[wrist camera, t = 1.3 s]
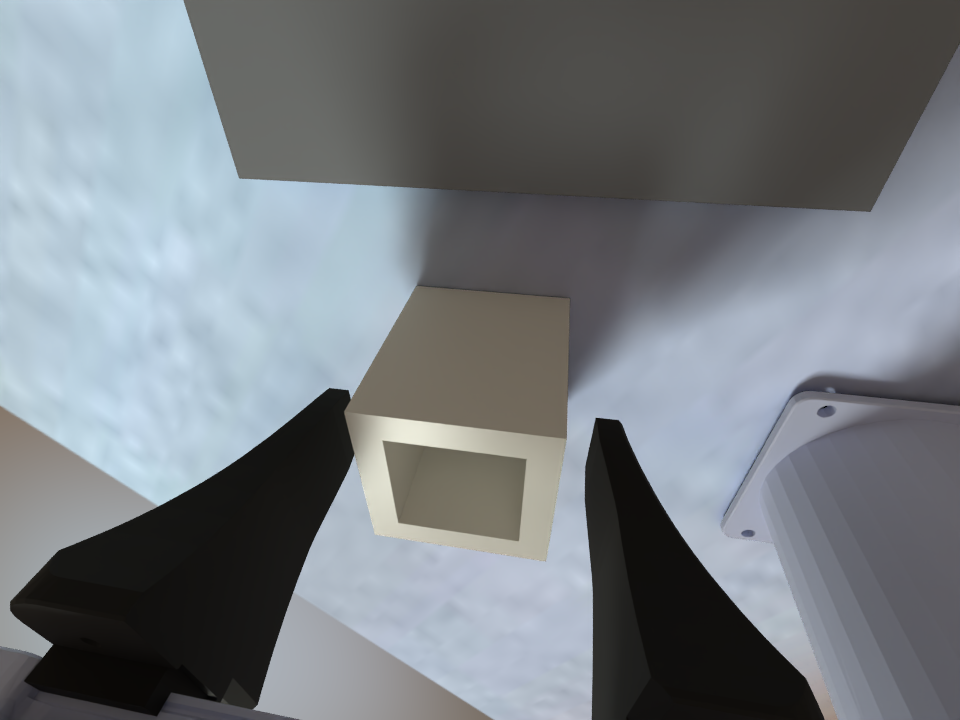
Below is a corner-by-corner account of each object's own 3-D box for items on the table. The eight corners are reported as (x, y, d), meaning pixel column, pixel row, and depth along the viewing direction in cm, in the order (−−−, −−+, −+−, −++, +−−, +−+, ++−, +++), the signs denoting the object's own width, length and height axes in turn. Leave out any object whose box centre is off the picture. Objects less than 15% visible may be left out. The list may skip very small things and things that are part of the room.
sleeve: (569, 298, 14) (567, 439, 10) (554, 412, 17) (545, 561, 13) (416, 285, 15) (343, 411, 10) (427, 398, 18) (374, 534, 13)
